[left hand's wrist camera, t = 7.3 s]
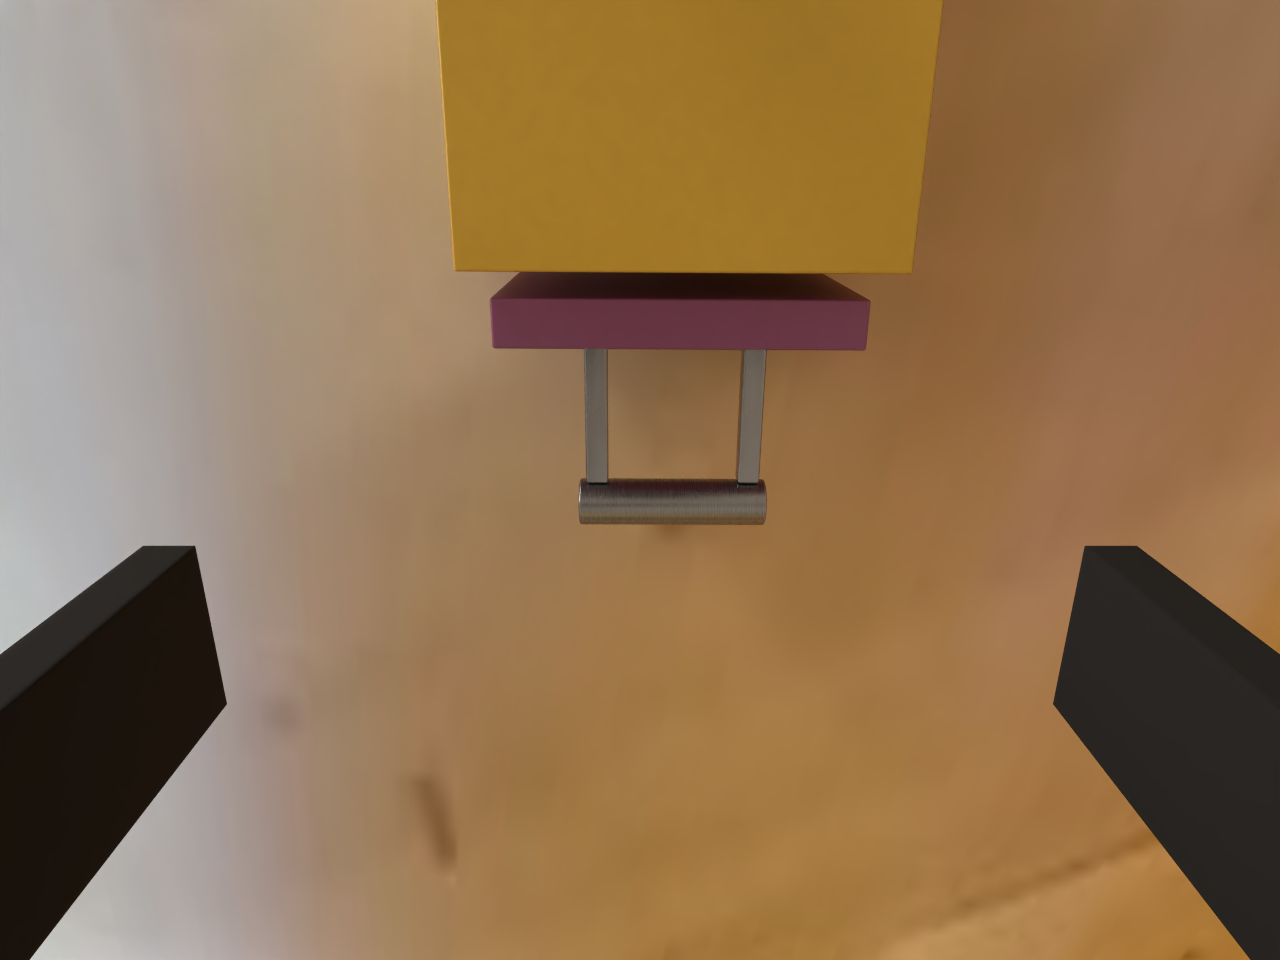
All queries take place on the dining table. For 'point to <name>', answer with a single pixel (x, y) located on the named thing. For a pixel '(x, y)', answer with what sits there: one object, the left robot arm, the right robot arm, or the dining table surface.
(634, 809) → the dining table surface
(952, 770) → the dining table surface
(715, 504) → the drawer
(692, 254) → the cabinet
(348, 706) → the dining table surface
